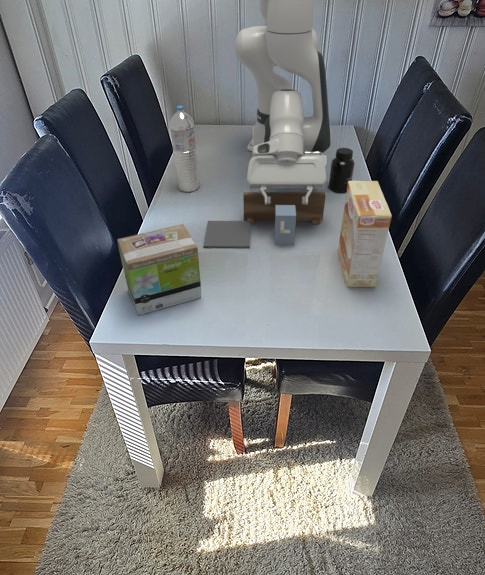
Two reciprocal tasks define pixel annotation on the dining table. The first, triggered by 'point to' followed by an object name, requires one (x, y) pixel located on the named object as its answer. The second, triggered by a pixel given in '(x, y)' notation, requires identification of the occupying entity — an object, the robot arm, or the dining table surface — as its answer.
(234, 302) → the dining table surface
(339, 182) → the supplement bottle
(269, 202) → the robot arm
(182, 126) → the water bottle
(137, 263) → the tea box
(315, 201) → the screen
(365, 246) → the coffeecake box
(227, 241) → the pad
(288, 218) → the letter block
